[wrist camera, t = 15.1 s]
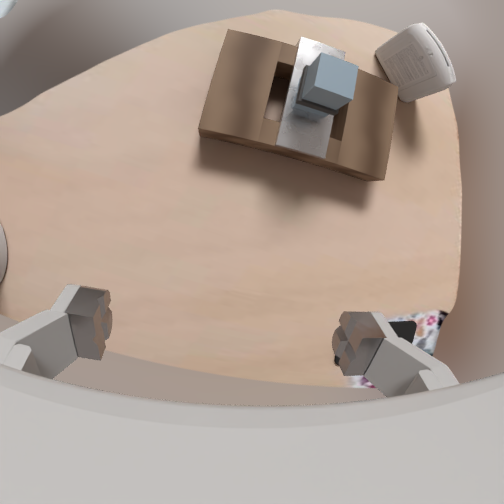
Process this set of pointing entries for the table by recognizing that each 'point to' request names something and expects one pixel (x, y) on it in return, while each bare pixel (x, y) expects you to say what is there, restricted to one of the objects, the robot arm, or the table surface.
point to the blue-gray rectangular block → (326, 85)
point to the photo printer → (416, 63)
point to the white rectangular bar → (299, 121)
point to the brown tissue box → (265, 130)
